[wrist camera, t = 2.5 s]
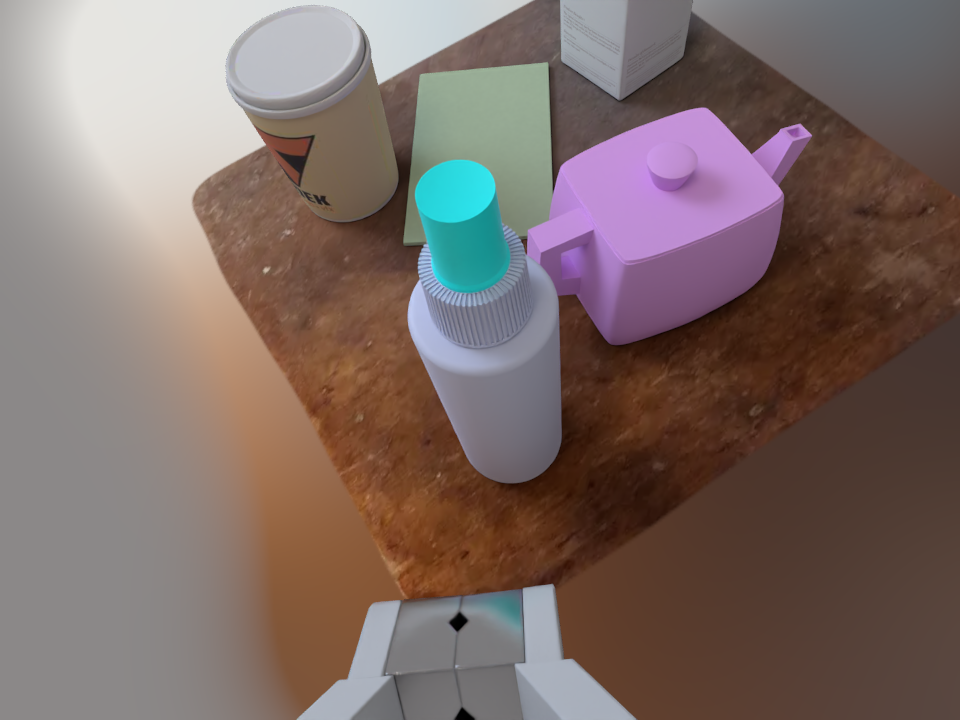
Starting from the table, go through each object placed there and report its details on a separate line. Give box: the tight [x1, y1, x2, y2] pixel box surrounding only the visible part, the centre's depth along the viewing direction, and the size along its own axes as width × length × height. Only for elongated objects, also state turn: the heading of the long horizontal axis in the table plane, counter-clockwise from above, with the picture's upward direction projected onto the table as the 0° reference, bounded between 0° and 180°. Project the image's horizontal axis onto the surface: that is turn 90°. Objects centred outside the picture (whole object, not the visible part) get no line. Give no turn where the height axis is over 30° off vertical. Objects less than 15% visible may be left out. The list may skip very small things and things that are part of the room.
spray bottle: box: [408, 160, 562, 483], centre depth 28 cm, size 6×6×22 cm
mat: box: [403, 63, 553, 246], centre depth 49 cm, size 11×18×1 cm, turn 179°
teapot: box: [527, 108, 812, 345], centre depth 38 cm, size 18×10×10 cm, turn 113°
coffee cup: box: [226, 5, 398, 222], centre depth 44 cm, size 9×9×12 cm
